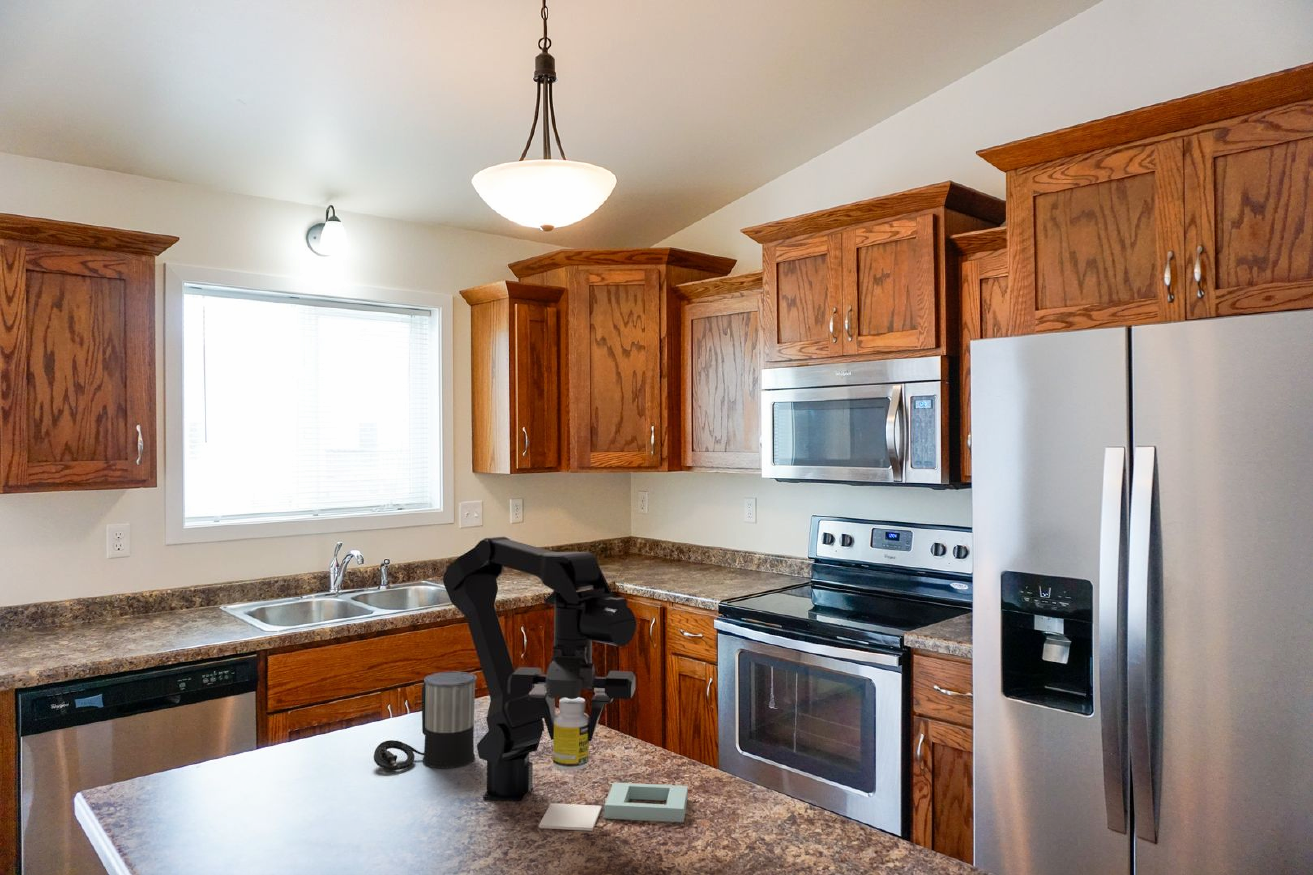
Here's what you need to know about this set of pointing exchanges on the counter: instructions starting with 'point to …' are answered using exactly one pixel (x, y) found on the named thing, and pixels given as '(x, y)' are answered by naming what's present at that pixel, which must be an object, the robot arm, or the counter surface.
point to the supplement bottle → (571, 735)
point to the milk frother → (440, 724)
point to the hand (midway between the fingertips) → (571, 739)
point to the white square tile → (570, 817)
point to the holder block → (622, 809)
